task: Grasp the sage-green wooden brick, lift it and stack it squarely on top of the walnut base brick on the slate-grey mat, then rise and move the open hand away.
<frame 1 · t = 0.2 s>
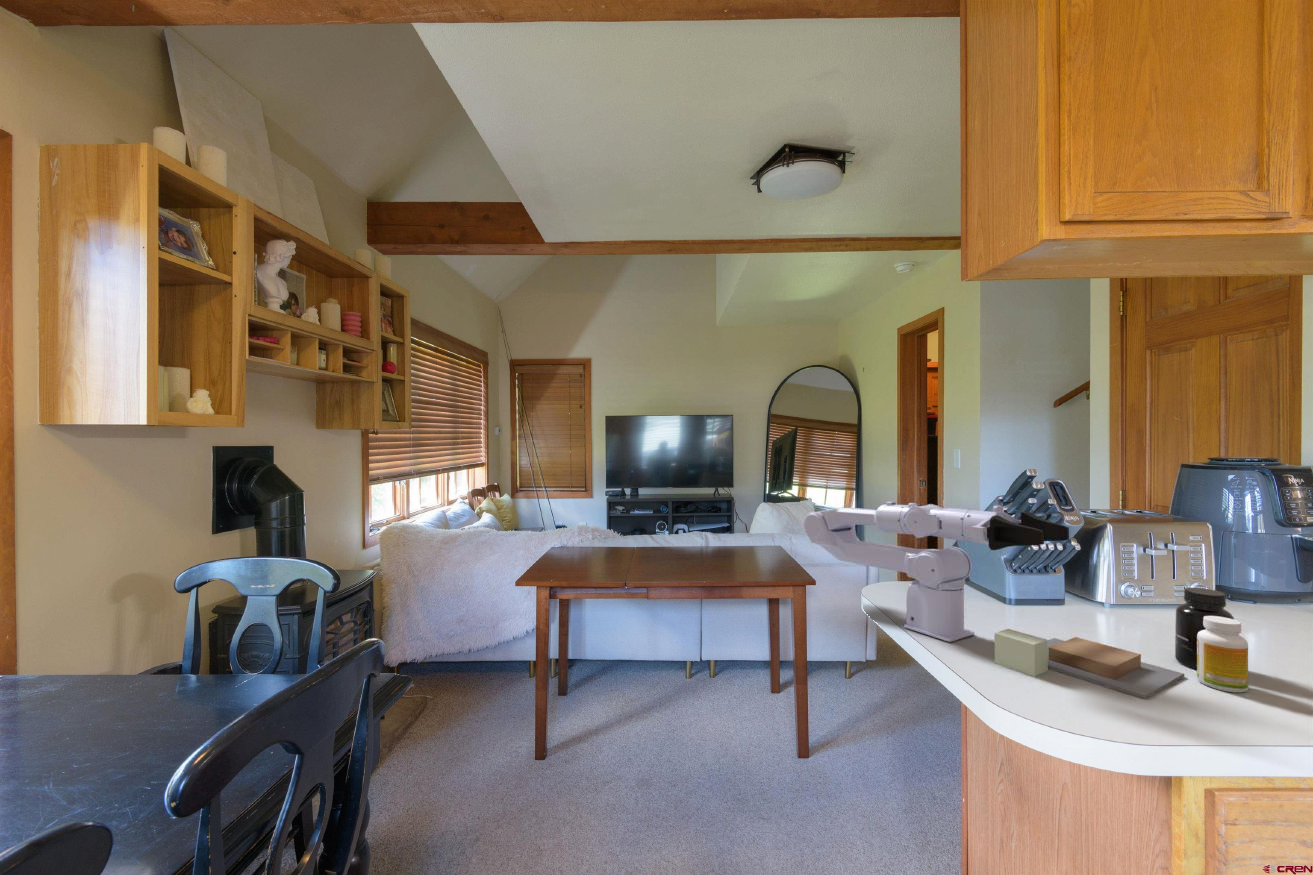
hand: (1055, 535, 91), 21 cm above the table, tool horizontal, fingers open, 7 cm apart
grey mat: (1093, 666, 92), on the table
supplement bottle: (1204, 667, 92), on the table
supplement bottle 2: (1222, 686, 85), on the table
walnut base brick: (1093, 656, 92), on the grey mat, point 1 cm above the table
sage brick: (1020, 667, 92), on the table
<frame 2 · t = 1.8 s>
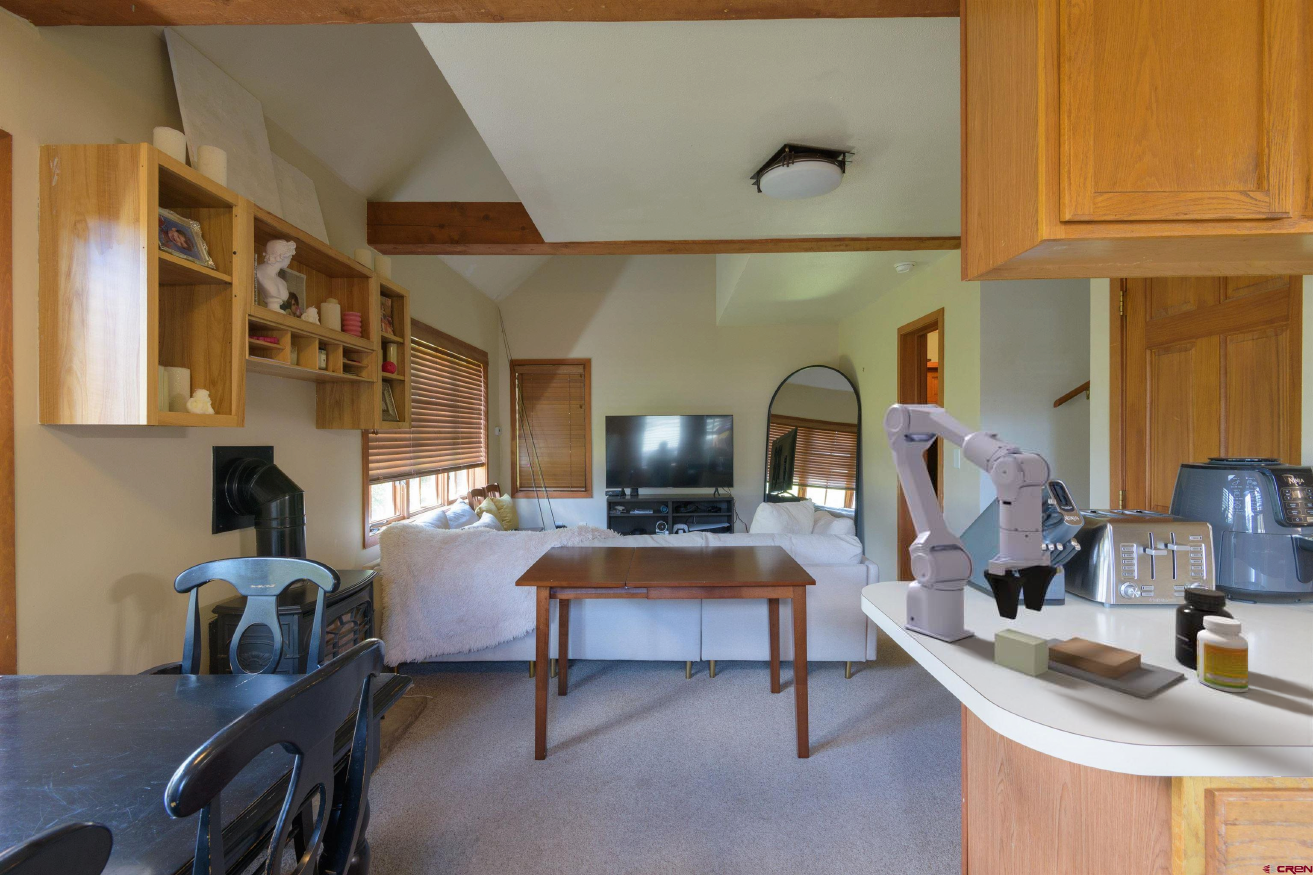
hand: (1020, 613, 92), 9 cm above the table, tool pointing down, fingers open, 7 cm apart
nothing on the table moved.
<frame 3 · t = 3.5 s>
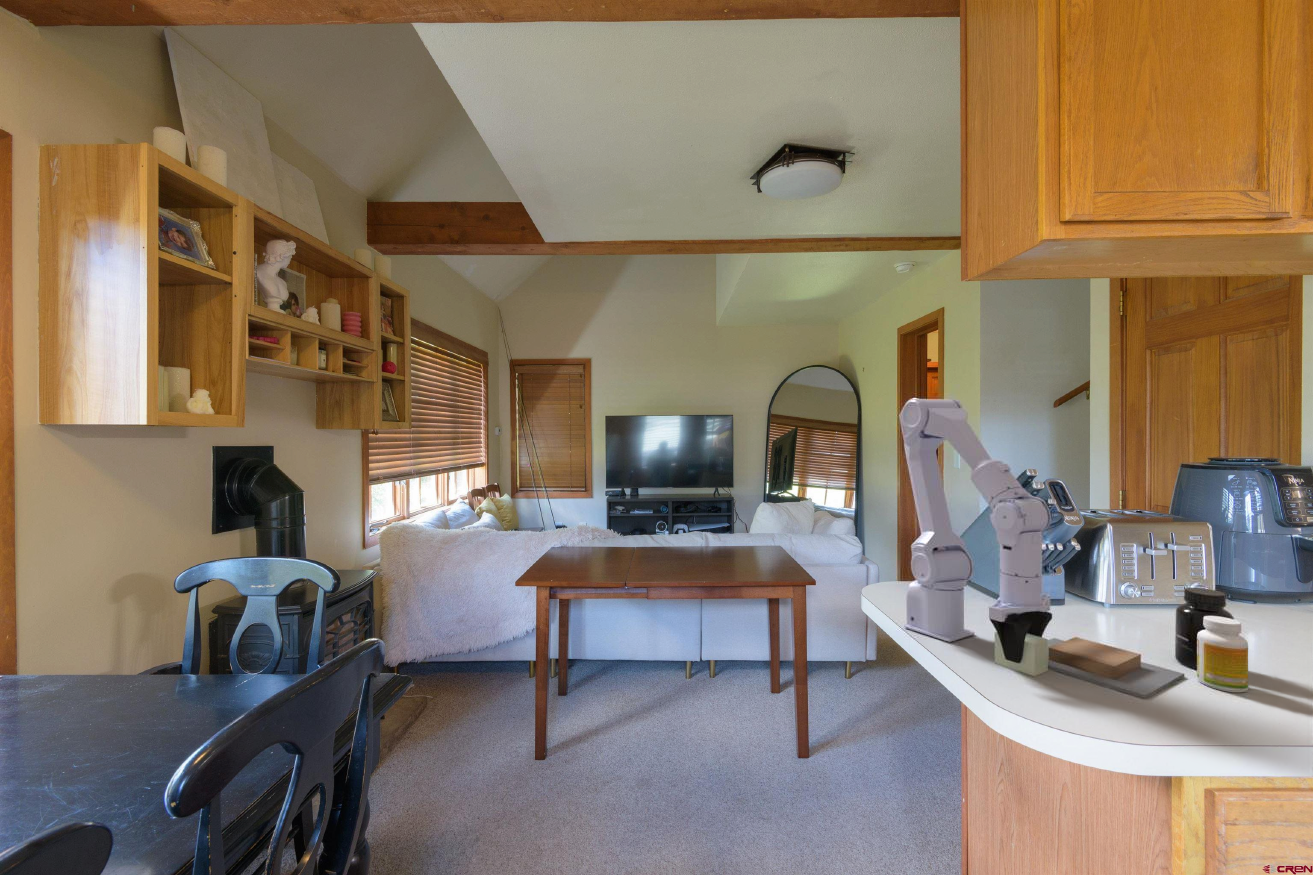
hand: (1020, 657, 92), 1 cm above the table, tool pointing down, fingers closed on sage brick, 4 cm apart
sage brick: (1020, 666, 92), on the table, touching gripper
everything else where it was.
when the fingers open (5 cm above the table, at t = 8.1 s): sage brick stays where it is, resting on walnut base brick.
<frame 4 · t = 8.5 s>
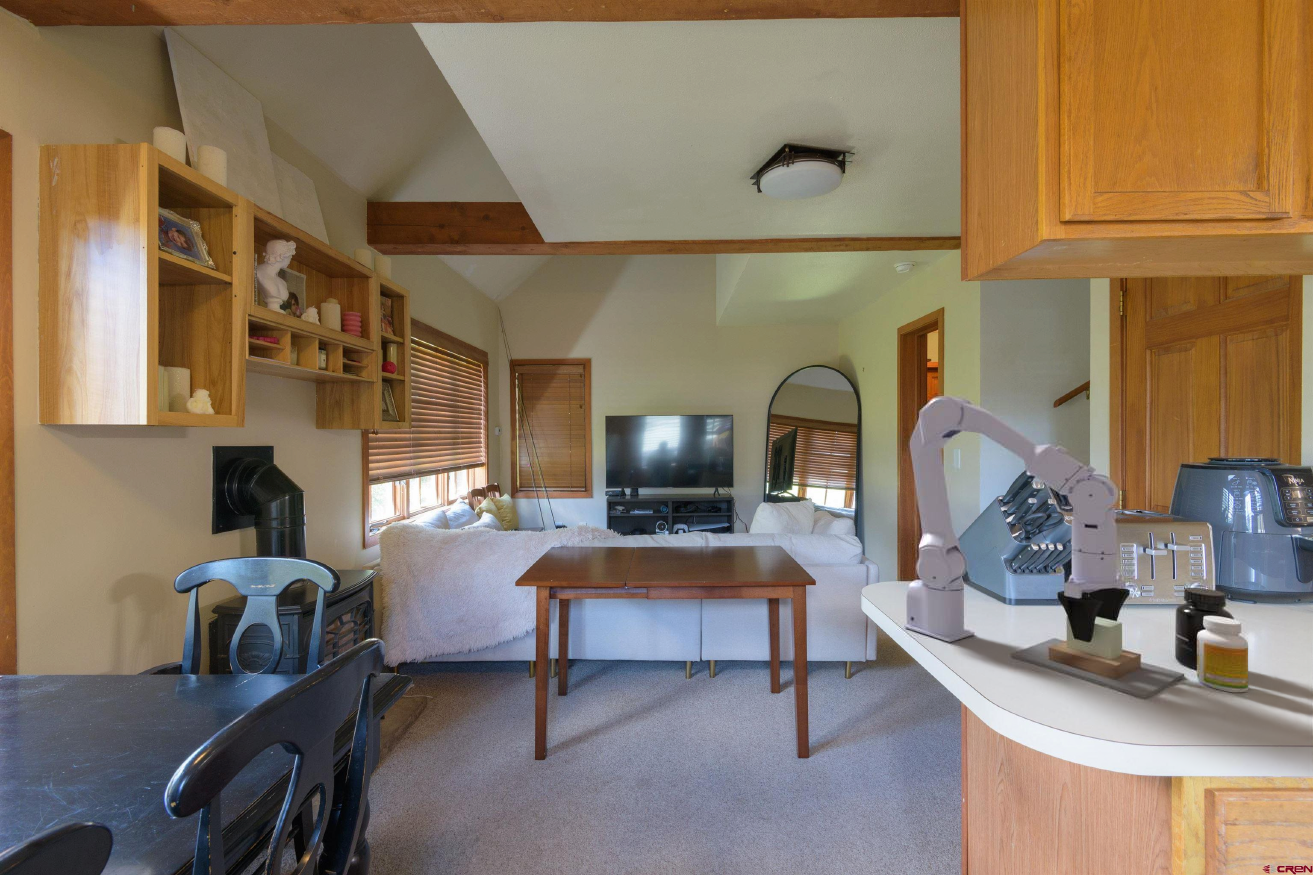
hand: (1093, 635, 92), 5 cm above the table, tool pointing down, fingers open, 7 cm apart
sage brick: (1093, 650, 92), point 2 cm above the table, touching walnut base brick
everything else where it was.
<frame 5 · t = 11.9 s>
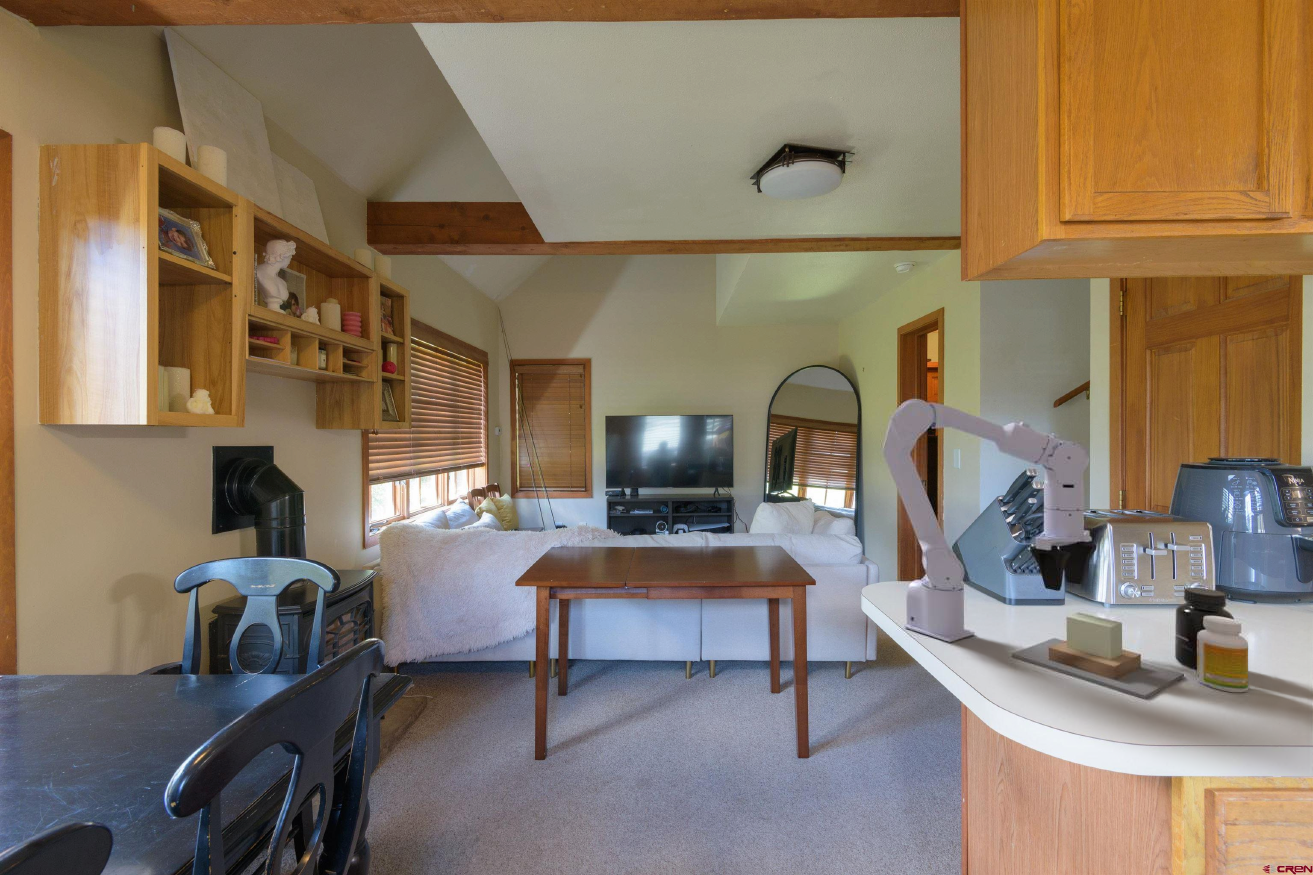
hand: (1063, 586, 101), 10 cm above the table, tool pointing down, fingers open, 7 cm apart
nothing on the table moved.
at the end: sage brick 0.0 cm off-centre on the walnut base brick, point 2.5 cm above the walnut base brick's base; sage brick tilted 0°; the gripper is holding nothing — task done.
